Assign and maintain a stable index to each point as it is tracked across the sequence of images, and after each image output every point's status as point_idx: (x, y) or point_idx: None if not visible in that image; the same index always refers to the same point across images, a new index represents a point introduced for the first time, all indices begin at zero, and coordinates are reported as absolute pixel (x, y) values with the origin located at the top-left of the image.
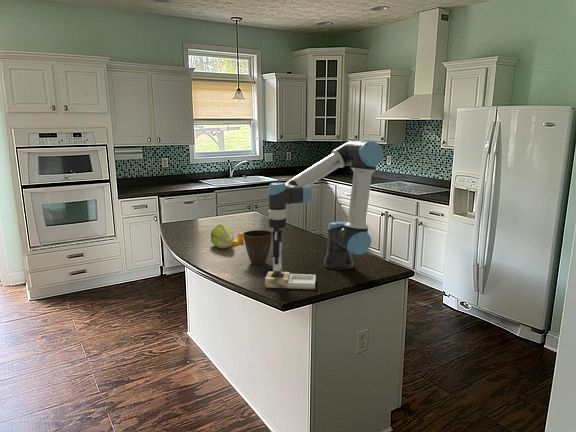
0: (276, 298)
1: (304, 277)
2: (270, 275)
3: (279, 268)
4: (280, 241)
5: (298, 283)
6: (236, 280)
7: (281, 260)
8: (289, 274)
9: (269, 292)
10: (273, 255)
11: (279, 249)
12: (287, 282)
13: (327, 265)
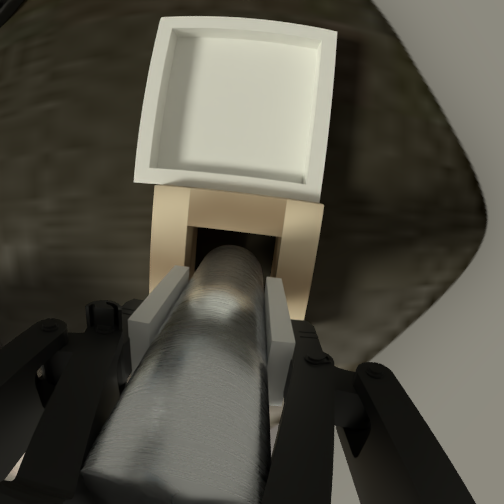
0: (441, 264)
1: (165, 86)
2: None
3: (282, 287)
4: (73, 467)
5: (328, 127)
6: None
7: (228, 292)
8: (171, 185)
9: (366, 302)
10: (370, 426)
11: (259, 410)
12: (319, 203)
13: (4, 17)
